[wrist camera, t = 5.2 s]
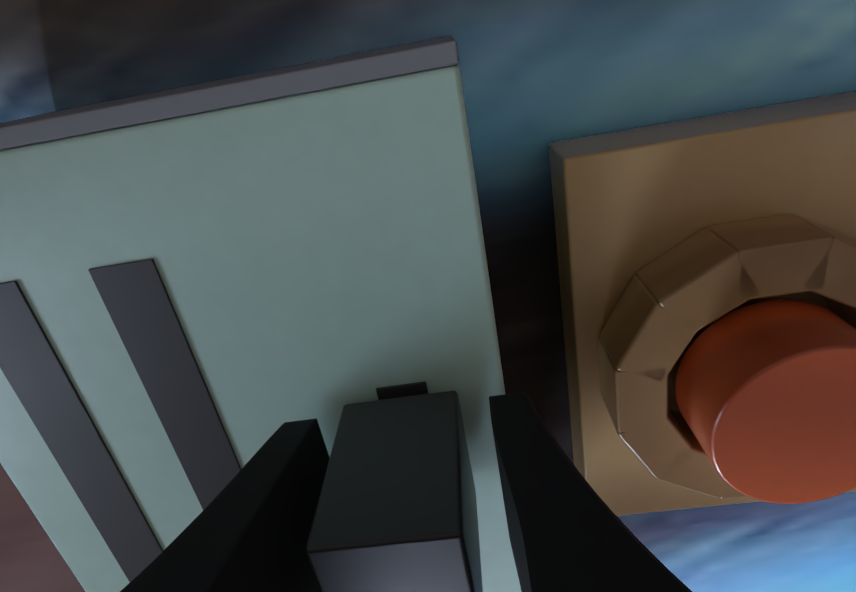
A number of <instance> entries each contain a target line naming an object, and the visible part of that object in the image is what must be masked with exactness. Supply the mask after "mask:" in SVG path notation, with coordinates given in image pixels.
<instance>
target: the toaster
mask: <svg viewBox="0 0 856 592" xmlns="http://www.w3.org/2000/svg"><path fill="white" fill-rule="evenodd" d="M458 63H459V56H458V49H457V43H456V41H455V40H454V39H453V38H452V37H451V36H444V37H439V38H434V39H429V40H424V41H418V42H413V43H408V44H403V45H398V46H392V47H387V48H382V49H377V50H372V51H367V52H361V53H356V54H351V55H346V56H341V57H335V58H330V59H325V60H320V61H315V62H309V63H304V64H299V65H294V66H289V67H284V68H278V69H273V70H268V71H263V72H258V73H252V74H247V75H242V76H237V77H232V78H227V79H221V80H216V81H211V82H206V83H201V84H195V85H190V86H185V87H180V88H175V89H170V90H164V91H159V92H154V93H149V94H144V95H138V96H133V97H128V98H123V99H118V100H113V101H107V102H102V103H97V104H92V105H87V106H81V107H76V108H71V109H66V110H61V111H56V112H51V113H46V114H41V115H37V116H32V117H27V118H23V119H18V120H13V121H8V122H4V123H0V463H1V465H2V466H3V468H4V469H5V471H6V472H7V474H8V475H9V477H10V478H11V480H12V481H13V483H14V484H15V486H16V487H17V489H18V490H19V492H20V493H21V495H22V496H23V498H24V499H25V501H26V502H27V504H28V505H29V507H30V508H31V510H32V511H33V513H34V515H35V516H36V518H37V519H38V521H39V522H40V524H41V525H42V527H43V528H44V530H45V531H46V533H47V534H48V536H49V537H50V539H51V540H52V542H53V543H54V545H55V546H56V548H57V549H58V551H59V552H60V554H61V555H62V557H63V558H64V560H65V561H66V563H67V564H68V566H69V567H70V569H71V570H72V572H73V573H74V575H75V576H76V578H77V579H78V581H79V583H80V584H81V586H82V587H83V589H84V590H85V592H120V591H121V590H122V589H123V588H125V587H126V586H127V585H128V584H129V583H130V582H131V581H132V580H133V579H134V578H135V577H137V576H138V575H139V574H140V573H141V572H142V571H143V570H144V569H145V568H146V567H147V566H148V565H149V564H150V563H152V562H153V561H154V560H155V559H156V558H157V557H158V556H159V555H160V554H161V553H162V552H163V551H164V550H165V549H166V548H167V547H168V546H169V545H170V544H171V543H172V542H173V541H174V540H175V539H176V538H177V537H178V536H179V535H180V534H181V533H182V532H183V531H184V530H185V529H186V528H187V527H188V526H189V525H190V523H191V522H192V521H193V520H194V519H195V518H196V517H197V516H198V515H199V514H200V513H201V512H202V511H203V510H204V509H205V508H206V507H207V506H208V505H209V504H210V503H211V502H212V501H213V500H214V499H215V497H216V496H217V495H218V494H219V493H220V492H221V491H222V490H223V489H224V488H225V487H226V486H227V484H228V483H229V482H230V481H231V480H232V479H233V478H234V477H235V476H236V475H237V474H238V472H239V471H240V470H241V469H242V468H243V467H244V466H245V465H246V464H247V462H248V461H249V460H250V459H251V458H252V457H253V456H254V455H255V454H256V452H257V451H258V450H259V449H260V448H261V447H262V446H263V445H264V444H265V442H266V441H267V440H268V439H269V438H270V437H271V436H272V435H273V434H274V433H275V432H276V431H277V430H278V428H279V427H280V426H281V425H282V424H283V423H284V422H292V421H300V420H308V419H316V418H317V421H318V424H319V427H320V430H321V433H322V436H323V439H324V442H325V445H326V448H327V451H328V454H329V457H330V454H331V451H332V447H333V443H334V439H335V436H336V432H337V428H338V424H339V421H340V417H341V413H342V409H343V406H344V405H346V404H352V403H360V402H368V401H375V400H383V399H391V398H399V397H406V396H414V395H422V394H430V393H437V392H445V391H453V390H454V391H456V392H457V393H458V398H459V403H460V409H461V414H462V420H463V425H464V431H465V436H466V441H467V447H468V452H469V458H470V463H471V469H472V474H473V479H474V485H475V490H476V501H477V515H478V530H479V544H480V559H481V573H482V588H483V592H522V591H521V587H520V582H519V578H518V574H517V569H516V565H515V561H514V556H513V552H512V547H511V543H510V538H509V531H508V525H507V519H506V512H505V506H504V500H503V493H502V487H501V480H500V474H499V468H498V461H497V455H496V448H495V442H494V436H493V429H492V423H491V414H490V404H489V396H497V395H505V388H504V381H503V373H502V366H501V359H500V352H499V345H498V337H497V330H496V323H495V316H494V309H493V301H492V294H491V287H490V280H489V273H488V265H487V258H486V251H485V244H484V237H483V229H482V222H481V215H480V208H479V201H478V193H477V186H476V179H475V172H474V165H473V157H472V150H471V143H470V136H469V129H468V122H467V114H466V107H465V100H464V93H463V86H462V78H461V71H460V69H459V66H458Z"/></svg>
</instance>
